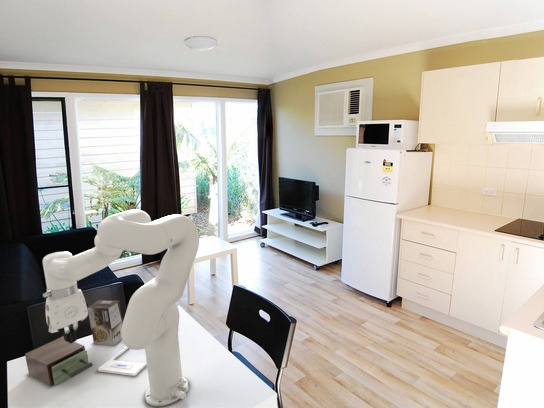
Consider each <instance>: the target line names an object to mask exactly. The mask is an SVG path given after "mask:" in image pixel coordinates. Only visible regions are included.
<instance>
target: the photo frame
mask: <svg viewBox="0 0 544 408" xmlns="http://www.w3.org/2000/svg"><path fill="white" fill-rule="evenodd" d="M127 350H129V348H128V347H127V346H126V345H125V346H124V347H123V348H122V349H121V350H119V351H118V352H117V353H115V355H113V356H112V357H111V358H109V359H108V360H107V361H106V362H105V363H103V364H102V365H101V366H99V367H98V368H97V372H100V373H107V374H114V375H115V374H116V375H122V376H123V375H124V376H131V377H132V376H133V377H136V376H137V375H138V374H139V373H140V372H141V371H142V370H143V369H144V368H145V367H147V361H146V360H145V362H144V363H142V362H134V361H126V360H117V358H118V357H119V356H121V355H122V354H123V353H125V352H126V351H127Z"/></svg>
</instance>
